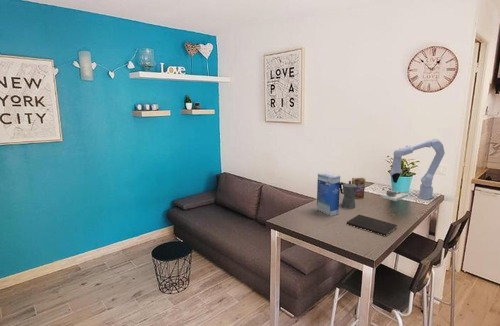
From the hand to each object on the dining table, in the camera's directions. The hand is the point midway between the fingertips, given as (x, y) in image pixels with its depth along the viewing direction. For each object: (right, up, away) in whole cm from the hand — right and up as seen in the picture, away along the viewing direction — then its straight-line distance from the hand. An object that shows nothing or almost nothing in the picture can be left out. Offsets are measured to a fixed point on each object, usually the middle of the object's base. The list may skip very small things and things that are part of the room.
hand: (395, 182), depth 224 cm
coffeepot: (-44, -15, -21) cm, 51 cm away
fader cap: (-7, -9, -8) cm, 14 cm away
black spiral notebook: (-42, -23, -55) cm, 72 cm away
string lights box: (-62, -18, -33) cm, 72 cm away
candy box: (-31, -11, -5) cm, 34 cm away
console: (-3, -11, -5) cm, 12 cm away
